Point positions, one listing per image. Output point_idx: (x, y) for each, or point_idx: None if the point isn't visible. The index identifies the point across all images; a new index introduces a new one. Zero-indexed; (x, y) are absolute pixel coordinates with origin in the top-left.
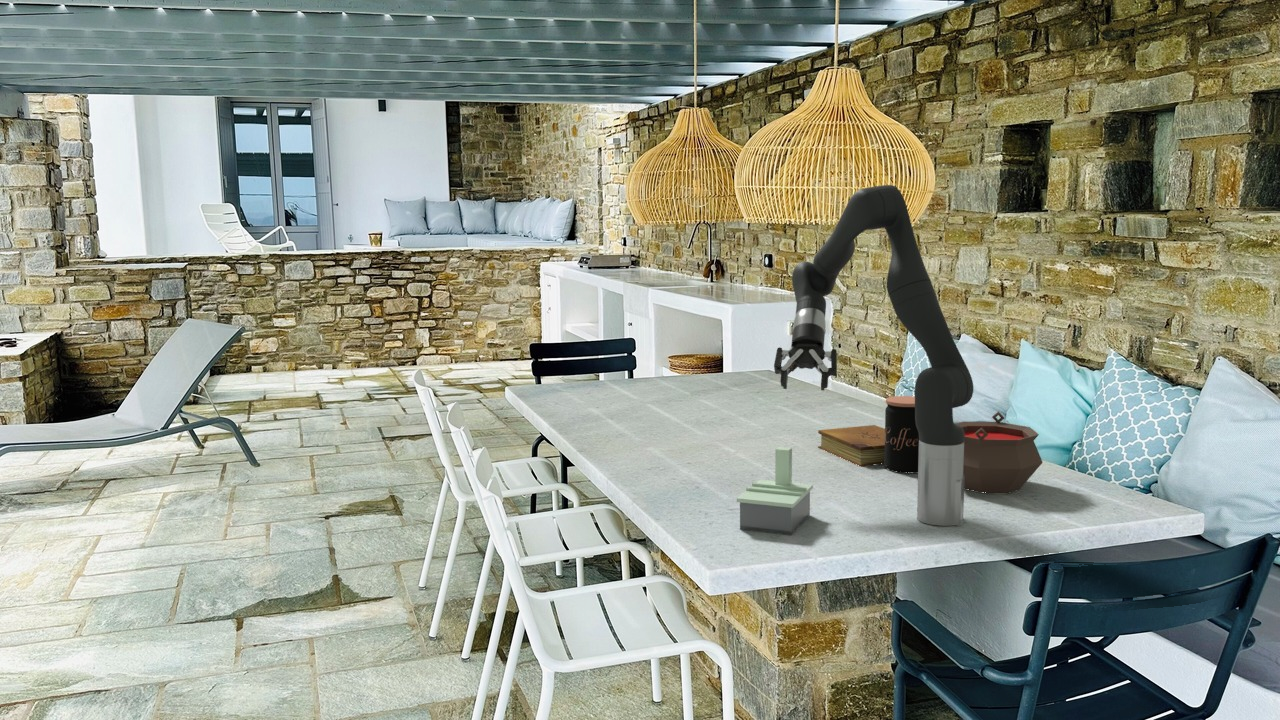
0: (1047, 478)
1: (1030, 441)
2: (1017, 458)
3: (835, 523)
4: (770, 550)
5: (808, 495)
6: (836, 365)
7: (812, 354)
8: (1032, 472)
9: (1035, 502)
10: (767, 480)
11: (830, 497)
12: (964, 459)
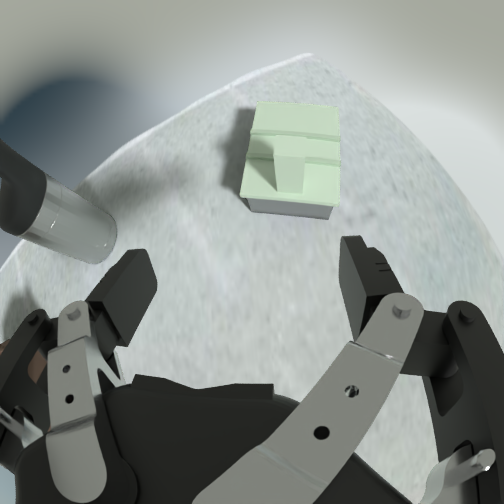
0: None
1: None
2: (2, 343)
3: (213, 186)
4: (277, 91)
5: None
6: (17, 331)
7: (82, 426)
8: None
9: None
10: (324, 201)
11: (228, 320)
12: (37, 360)
